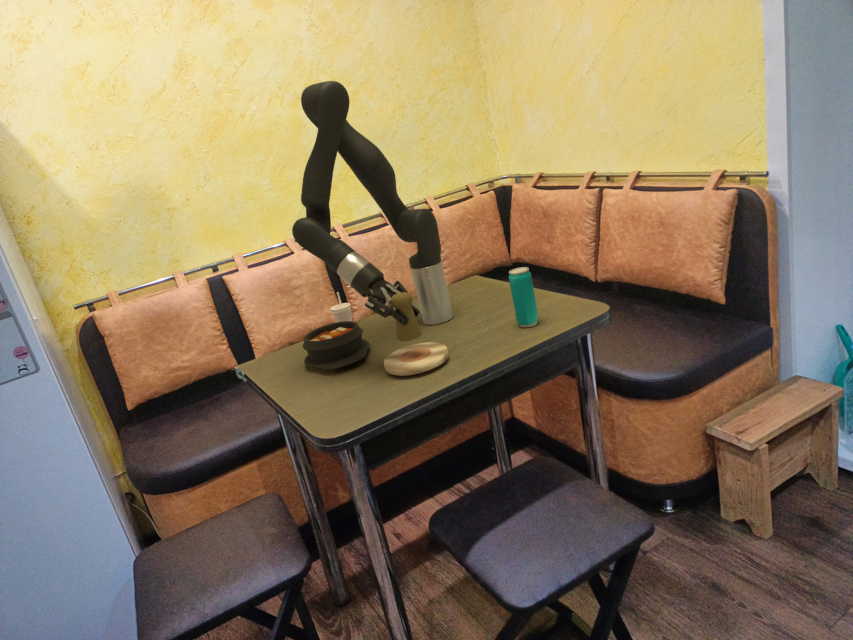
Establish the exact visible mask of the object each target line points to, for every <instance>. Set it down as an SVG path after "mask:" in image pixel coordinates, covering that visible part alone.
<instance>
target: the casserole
mask: <svg viewBox="0 0 853 640" xmlns="http://www.w3.org/2000/svg"><path fill="white" fill-rule="evenodd" d="M363 333H364V329H363V328H362V327H361V326H360V325H359V324H358V322H356V321H354V320H352V321H343V322H336V321H335V322H332V323H329V324H325V325H322V326H320V327H317V328H315V329H313V330H310V332H308V333H306V335H305V336H304V338H303V344H302V349H303V350H305V351H306V352H307V355H306V357H305V358H304V361H303V362H304V365H306V366H308V367H312V368H318V369H322V370H325V371H330V370H336V369H340V368H344V367H348V366H349V365H352V364H355V363H357V362H359V361H361V360H362V359H365V358H366V357H367V355H368V354H367V353H368V350H369V348H370V346H371V343H370V342H369V341H368V340H366V339H363V337H362V335H363Z"/></svg>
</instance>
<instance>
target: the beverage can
mask: <svg viewBox="0 0 853 640" xmlns="http://www.w3.org/2000/svg"><path fill="white" fill-rule="evenodd" d="M508 274H509V275H508V281H509V287H510V291H511V297H512V302H513V308H514V313H515V320H516V322H517V324H518V326H520V327H521V328H525V327H526V328H531V327H534V326H537V324H538V321H539V312H538V305H537V300H536V294H535V289H534V283H533V278H532V272H530V269H529V267H527V266H521V267H516V268H512V269H510V270H509V271H508ZM526 328H525V329H526Z"/></svg>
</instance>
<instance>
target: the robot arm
mask: <svg viewBox="0 0 853 640" xmlns="http://www.w3.org/2000/svg"><path fill="white" fill-rule="evenodd" d="M300 102H301V108H302V110H303V112H304V114H305V117H307V118H308V120H309V121H310V122H311V123H312V124H313V125H314V126H315V127H316V128H317V132H316V133H317V134H316V137H315V142H314V145H313V146H312V147H313V148H312V149H311V150H312V151H311V152H310V154H309V157H308V159H307V161H306V165H305V167H304V172H303V177H302V182H301V183H302V185H301V193H300V203H301V204H302V206H303V207H304V208H305V217H301V218H299V219H297V220H296V221H294V223H293V225H292V227H291V228H292V229H291V233H292V236H293V239H294V241H295V242H296V243H297V244H298V245H299V246H300V247H301V248H302V249H304V250H305V251H306V252H308V253H310V254H312V255H313V256H314V257H317V258H318V259H320V260H321V261H322V262H324V263H325V264H326V265H327V266H328V267H329V268H330V269H332V271H334V272H335V273H336V274H337V275H338V276H339V277H340V278H341V279H342V281H344V282H345V283H346V284H348V285H349V287H351V288H352V289H353V290H355V292H357V293H358V294H359V295H360V296H361V297H362V298H367V300H366V301H365V304H364V306H365V307H366V308H367V309H369V310H371V311H372V312H374V313H376V314H377V315H379V316H381V317H382V318H385V319H386V318H387V317H390V318H393V319H395V321H396V320H397V321H398V322H399V323H401V324H402V325H404V326H405V325H407V323H408V322H409V320H410V319H409V318H408V317H407V316H406V315H405V314H404V313H402V312H401V311H400V310H399V309H398V310H397V308H396V307H395V306H394V305H393V304H392V299H391V297H392V296H393V295H395V294H397V293H401V292H407V293H409V292H408V290H407V288H405V286H404V285H403V284H402V283H401V282H400V281H399V280H396V281H395V282H394V283H391V282H389V281H388V280H385V276H384V273H383V272H382V271H381V270H380V269H378V267H376V266H375V265H374V264H373V263H372V262H370V261H369V260H368V259H367V258H366V257H365V256H363V255H361V254H360V253H358V252H357V251H356V250H354V249H353V248H352V247H351V246H350V245H349V244H347V243H346V242H345V241H343V240H342V239H339V238H337V237H334V236H333V235H332V234H331V230H332V222H331V221H332V220H331V208H330V201H331V200H330V199H331V193H332V192H331V191H332V186H333V185H332V184H333V177H334V176H333V175H334V169H335V164H336V160H337V159H336V158H337V155H340V157H341V158H342V159H343V160H344V162H345V164H346V165H347V166H348V167H349V168H350V170H351V171H352V173H353V174H354V176H355V178H357V179H358V181H359V182H360V184H362V187H364V188H365V190H366V191H367V192H368V194H369V195H370V197H372V199H373V200H374V202H375V203H376V204H377V206H378V207H379V208H380V210H381V211H382V213H383V215H384V216H385V218H386V220H387V221H388V223H389V224H390V226H391V228H392V230H393V231H394V232H395V234H396V235H397V237H398V238H399V239H400V240H401V241H403V242H405V243H416V247H417V251H416V253H414V254H413V255H410V257H409V259H408V263H409V267H410V272H411V276H412V279H413V284H414V287H415V292H416V297H417V300H418V305H419V308H417V307H416V306H415V305H414V304H413V303H412V304H411V306H412V308H413V311H414V314H415V317H416V318H418V316H419V315H421V319H422V322H423V324H424V325H429V326H430V325H431V326H432V325H435V326H436V325H440V324H444V323H446V322H448V320H449V321H451V320H452V319H453V318H454V312H453V307H452V303H451V302H452V301H451V297H450V293H449V289H448V285H447V283H448V282H447V280H446V274H445V269H444V266H443V262H442V256H441V255H442V245H441V244H442V243H441V239H440V232H439V227H438V222H437V219H436V216H435V214H434V213H433V212H432V210H431V209H429V208H418V209H409V208H408V207H407V206H406V205H405V203H404V202H403V200H402V199H401V197H400V196H399V194H398V190H397V181H396V180H397V179H396V178H397V177H396V173H395V170H394V168H393V166H392V164H391V163H390V162H389V160H388V159H387V157H386V155H384V153H383V152H382V151H381V149H380V148H379V147H378V146H377V145H376V144H374V142H372V141H371V140H369V139H368V138H367V137H365V136H364V135H363V134H362V133H361V132H360V131H357V130H356V129H355V128H354V127H353V126H352V125H351V124H350V123H349V121H348V120H347V117H348V114H349V109H350V96H349V93H348V90H347V88H346V87H345V86H344V85H343V84H342V83H341V82H339V81H336V80H327V81H321V82H317V83H314V84H311V85H308V86H307V87H305V88H304V89H303V90H302V93H301V96H300Z"/></svg>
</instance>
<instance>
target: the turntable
mask: <svg viewBox="0 0 853 640" xmlns="http://www.w3.org/2000/svg"><path fill="white" fill-rule="evenodd" d="M448 358H449V351H448V347H447V346H446V345H445V344H443V343H441V342H434V341H432V342H431V341H430V342H429V341H428V342H427V341H426V342H420V343H419V342H418V343H415V344H411V345H407V346H403V347H401V348H399V349H396V350H394V351H393V352H391V353H390V354H388V355H387V356H386V357H385V358H384V359H383V365H384V366H383V367H384V370H385V372H386V373H388V374H389V375H391V376H392V375H394V376H411V375H412V376H413V375H416V374H421V373H425V372H428V371H430V370H433V369H435V368H437V367H439V366H441V365H442V364H443V363H445V362H446V361H447V360H448Z"/></svg>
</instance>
